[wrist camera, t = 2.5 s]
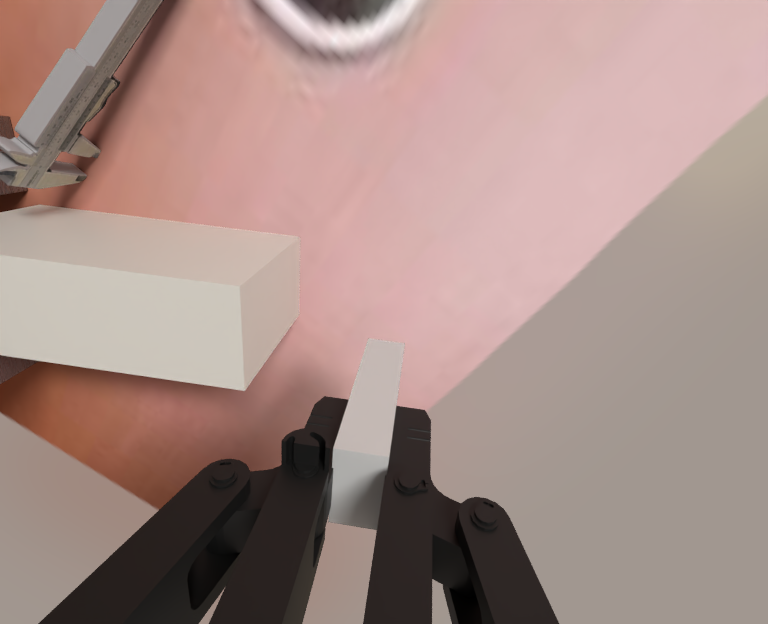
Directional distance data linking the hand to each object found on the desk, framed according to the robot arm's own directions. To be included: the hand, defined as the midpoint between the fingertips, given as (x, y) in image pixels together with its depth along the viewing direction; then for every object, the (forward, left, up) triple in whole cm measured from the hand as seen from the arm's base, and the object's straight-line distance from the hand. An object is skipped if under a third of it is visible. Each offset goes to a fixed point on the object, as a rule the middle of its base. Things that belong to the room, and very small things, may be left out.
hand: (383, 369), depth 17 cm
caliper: (-13, -13, -9) cm, 20 cm away
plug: (0, -14, -9) cm, 16 cm away
